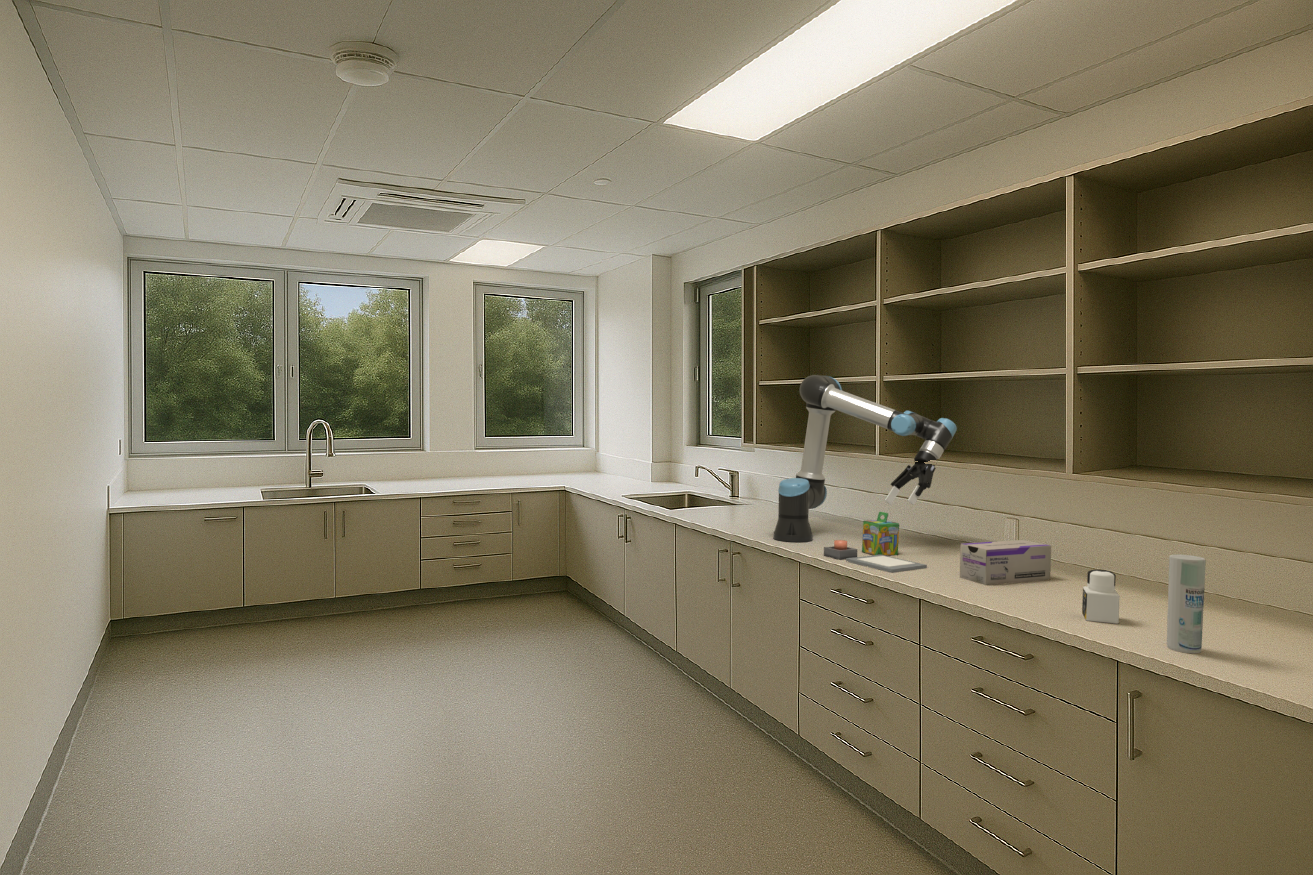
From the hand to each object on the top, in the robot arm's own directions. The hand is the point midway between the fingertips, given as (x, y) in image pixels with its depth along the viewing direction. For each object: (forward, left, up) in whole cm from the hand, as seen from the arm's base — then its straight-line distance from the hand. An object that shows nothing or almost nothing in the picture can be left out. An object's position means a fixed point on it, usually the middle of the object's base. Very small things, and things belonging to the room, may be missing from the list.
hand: (898, 502), depth 278 cm
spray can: (+109, -31, -18) cm, 115 cm away
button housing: (-4, -24, -18) cm, 30 cm away
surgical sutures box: (+45, -3, -19) cm, 49 cm away
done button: (-4, -24, -16) cm, 29 cm away
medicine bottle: (+86, -23, -18) cm, 91 cm away
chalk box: (-2, -7, -18) cm, 20 cm away
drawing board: (+13, -20, -18) cm, 30 cm away
